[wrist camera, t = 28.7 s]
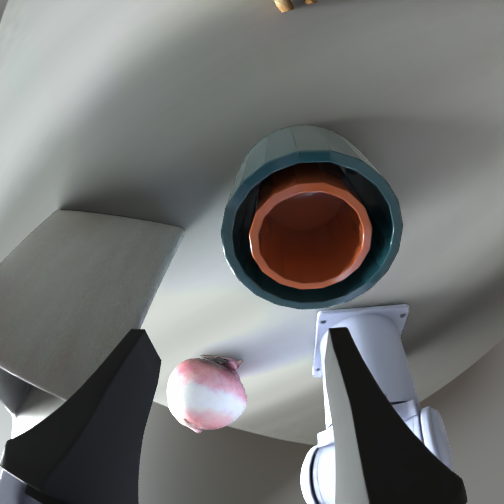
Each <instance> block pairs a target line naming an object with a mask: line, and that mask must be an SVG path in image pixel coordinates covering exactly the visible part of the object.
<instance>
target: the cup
mask: <svg viewBox="0 0 504 504" xmlns="http://www.w3.org/2000/svg"><path fill="white" fill-rule="evenodd" d="M371 236H372V225H371V222H370V219H369V217H368V214H367V211H366V208H365V207H364V205H363V203H362V201H361V200H360V198H359V196H358V195H357V193H356V191H355V190H354V188H353V186H352V185H351V183H350V181H349V180H348V178H347V177H346V175H345V173H344V172H343V170H342V169H341V168H340V167H339V166H338V165H337V164H334V163H331V162H310V163H298V164H295V165H292V166H289V167H287V168H284V169H281V170H278V171H276V172H273V173H271V174H270V175H269V176H267V177H266V178H265V179H264V180H262V181H261V182H260V183H259V184H258V186H257V189H256V194H255V200H254V206H253V213H252V219H251V225H250V231H249V239H250V246H251V254H252V256H253V257H254V259H255V261H256V262H257V264H258V265H259V267H260V268H261V270H262V271H263V272H264V273H265V274H267V275H268V276H269V277H271V278H272V279H274V280H275V281H277V282H278V283H280V284H283V285H286V286H290V287H294V288H298V289H316V288H322V287H323V288H324V287H327V286H330V285H332V284H335V283H338V282H340V281H342V280H344V279H345V278H347V277H348V276H349V275H350V274H352V273H353V272H354V271H355V270H356V269H358V268H359V267H360V265H361V264H362V262H363V260H364V258H365V257H366V255H367V253H368V251H369V250H370V245H371Z"/></svg>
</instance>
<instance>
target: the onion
mask: <svg viewBox="0 0 504 504" xmlns="http://www.w3.org/2000/svg"><path fill="white" fill-rule="evenodd" d="M201 356H202V355H201ZM203 357H205V358H208V359H214V358H215V357H219V356H211V355H203ZM219 358H225V357H219ZM224 360H226V361H220V362H217V363H216V362H214V361H212V360H206V359H200V358H196V359H188V360H185V361H183V362H181V363H180V364H179V365H178V366H177V367H176V368H175V369H174V371H173V372H172V374H171V376H170V378H169V382H168V386H167V398H168V404H169V408H170V411H171V412H172V414H173V415H174V416H175V417H176V418H177V420H178V421H179V422H180V423H182V424H183V425H185V426H188V427H189V428H191V429H193V430H194V431H196V432H197V433H200V432H201V431H202V430H211V429H217V428H221V427H224V426H226V425H228V424H230V423H232V422H233V421H234V420H236V419H237V418H238V417H239V416H240V415H241V414H242V412H243V411H244V409H245V408H246V406H247V395H246V393H245V389H244V387H243V385H242V383H241V381H240V378H239V375H238V373H237V369H238V368H239V366H240V365H241V364H242V363H243V360H234V359H229V358H225V359H224Z"/></svg>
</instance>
